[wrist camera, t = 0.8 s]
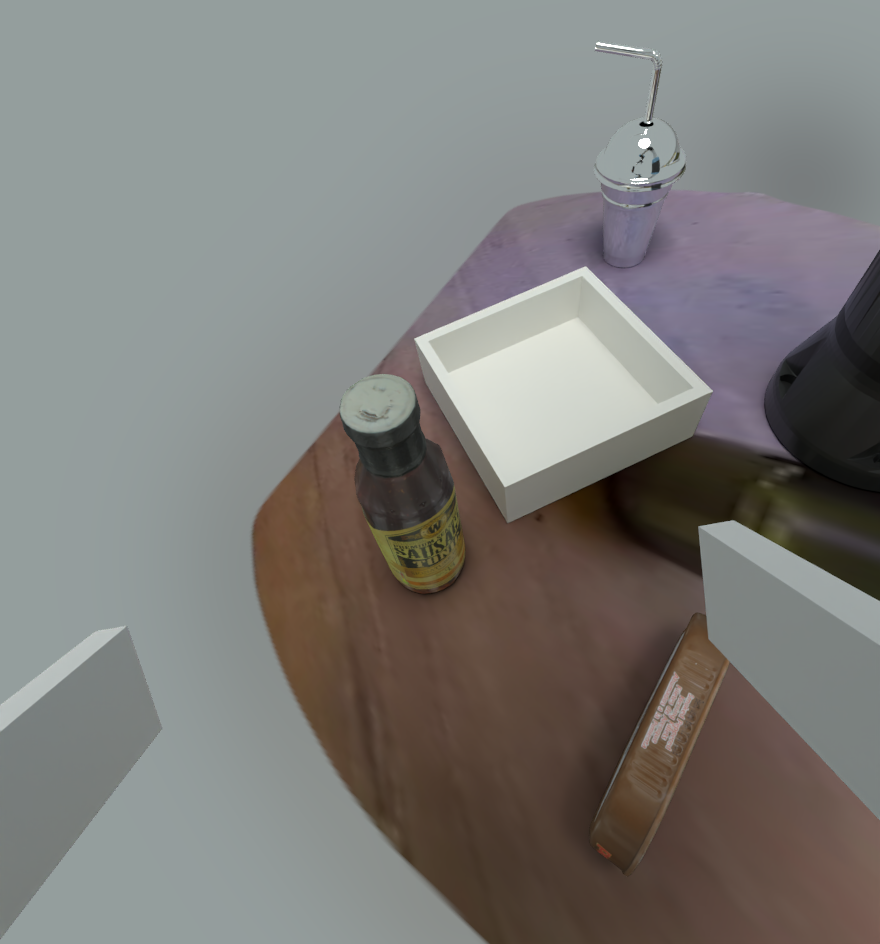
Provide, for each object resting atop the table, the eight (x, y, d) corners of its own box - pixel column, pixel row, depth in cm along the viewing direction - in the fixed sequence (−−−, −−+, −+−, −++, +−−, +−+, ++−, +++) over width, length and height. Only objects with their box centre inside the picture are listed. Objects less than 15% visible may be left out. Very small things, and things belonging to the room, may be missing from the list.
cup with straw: (635, 289, 56) (680, 71, 39) (565, 260, 60) (579, 51, 43) (679, 247, 58) (739, 24, 42) (609, 221, 62) (639, 9, 46)
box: (580, 315, 55) (585, 266, 50) (692, 436, 45) (713, 391, 40) (425, 382, 53) (414, 338, 48) (507, 523, 44) (504, 487, 39)
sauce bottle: (419, 613, 41) (343, 484, 24) (378, 554, 44) (286, 404, 27) (486, 563, 42) (457, 409, 25) (441, 510, 45) (390, 341, 28)
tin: (620, 871, 31) (647, 893, 24) (572, 833, 32) (584, 843, 25) (718, 652, 36) (764, 617, 29) (673, 627, 37) (707, 587, 30)
